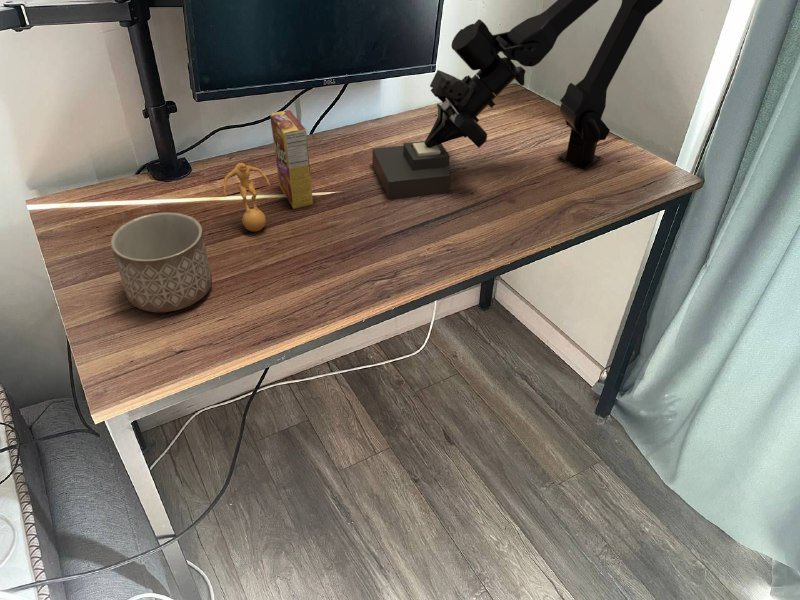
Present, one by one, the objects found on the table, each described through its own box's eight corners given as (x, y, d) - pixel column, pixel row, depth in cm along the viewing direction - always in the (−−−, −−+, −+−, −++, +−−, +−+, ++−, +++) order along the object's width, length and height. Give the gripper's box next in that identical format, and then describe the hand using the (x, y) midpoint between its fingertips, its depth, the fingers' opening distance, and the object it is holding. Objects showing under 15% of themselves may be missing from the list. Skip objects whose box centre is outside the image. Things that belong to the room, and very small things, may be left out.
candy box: (277, 187, 127) (268, 112, 118) (298, 183, 129) (292, 108, 119) (291, 210, 121) (283, 132, 112) (313, 205, 123) (307, 128, 113)
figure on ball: (236, 241, 113) (226, 179, 105) (224, 225, 117) (213, 163, 109) (281, 228, 116) (274, 167, 109) (268, 212, 120) (261, 152, 113)
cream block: (433, 153, 131) (434, 141, 130) (440, 163, 128) (440, 151, 126) (412, 155, 130) (412, 143, 129) (418, 165, 127) (418, 153, 126)
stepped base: (432, 159, 138) (434, 132, 134) (453, 192, 127) (455, 164, 123) (372, 165, 135) (372, 138, 131) (388, 199, 125) (388, 171, 121)
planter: (179, 327, 96) (164, 269, 89) (110, 304, 99) (90, 247, 93) (229, 279, 105) (219, 223, 98) (164, 259, 108) (150, 205, 102)
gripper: (443, 40, 125) (386, 100, 130) (476, 75, 111) (411, 142, 116) (479, 78, 132) (423, 134, 136) (514, 116, 118) (450, 177, 122)
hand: (426, 145), depth 127 cm, fingers closed, pressing on cream block
